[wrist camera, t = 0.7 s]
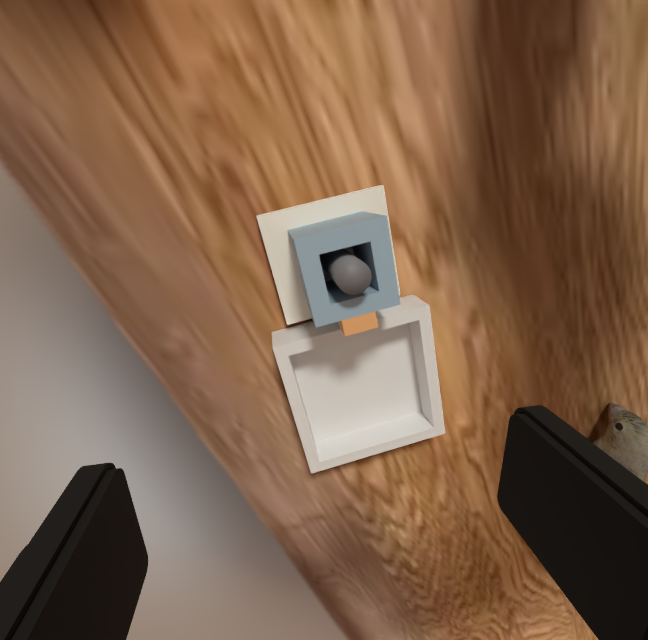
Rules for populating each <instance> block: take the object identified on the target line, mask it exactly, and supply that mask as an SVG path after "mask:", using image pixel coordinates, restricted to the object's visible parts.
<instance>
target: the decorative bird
mask: <svg viewBox="0 0 648 640" xmlns="http://www.w3.org/2000/svg"><path fill="white" fill-rule="evenodd" d="M608 419H609V424H608V427H607V431H606V433H605V435H604V436H602V437H600V438H598V439H597V440H595V441H594V442H593V444H595V445H596V446H597V447H599V448H600V449H601V450H603V451H604V452H605V453H606V454H608V455H609V456H610V457H612V458H613V459H614V460H616V461H617V462H618V463H620V464H621V465H622V466H624V467H625V468H626V469H628V470H629V471H630V472H632V473H633V474H634V475H635V476H637V477H638V478H639V479H641V480H642V481H643V482H644V481H645V478H646V475H647V472H648V425H647V424H646V423H645V422H644V421H643V420H642V419H641V418H640V417H638V416H637V415H636V414H634V413H632V412H630V411H628V410H626V409H624V408H623V407H621V406H618V405H615V404H612V403H609V404H608Z"/></svg>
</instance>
